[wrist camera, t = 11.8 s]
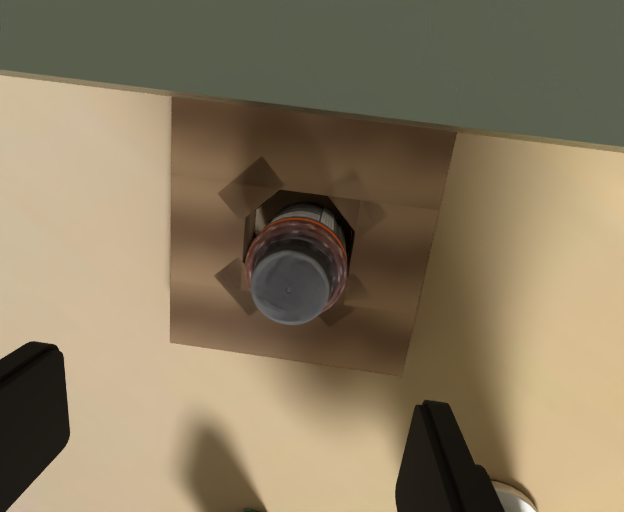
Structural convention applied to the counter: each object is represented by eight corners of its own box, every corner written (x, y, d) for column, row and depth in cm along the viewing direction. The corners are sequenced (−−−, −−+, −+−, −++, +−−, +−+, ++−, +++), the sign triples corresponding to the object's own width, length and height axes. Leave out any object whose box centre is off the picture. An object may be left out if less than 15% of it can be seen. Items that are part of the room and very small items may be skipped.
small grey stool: (430, 150, 26) (748, 162, 6) (199, 121, 27) (-237, 39, 6) (464, -11, 23) (1314, -1071, 3) (203, -40, 24) (-567, -1118, 4)
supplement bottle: (337, 279, 30) (336, 355, 19) (265, 265, 30) (223, 333, 19) (352, 207, 28) (360, 245, 17) (275, 193, 28) (235, 222, 17)
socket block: (394, 351, 31) (401, 376, 28) (187, 321, 32) (170, 342, 28) (452, 83, 25) (469, 73, 22) (194, 52, 25) (172, 38, 22)
